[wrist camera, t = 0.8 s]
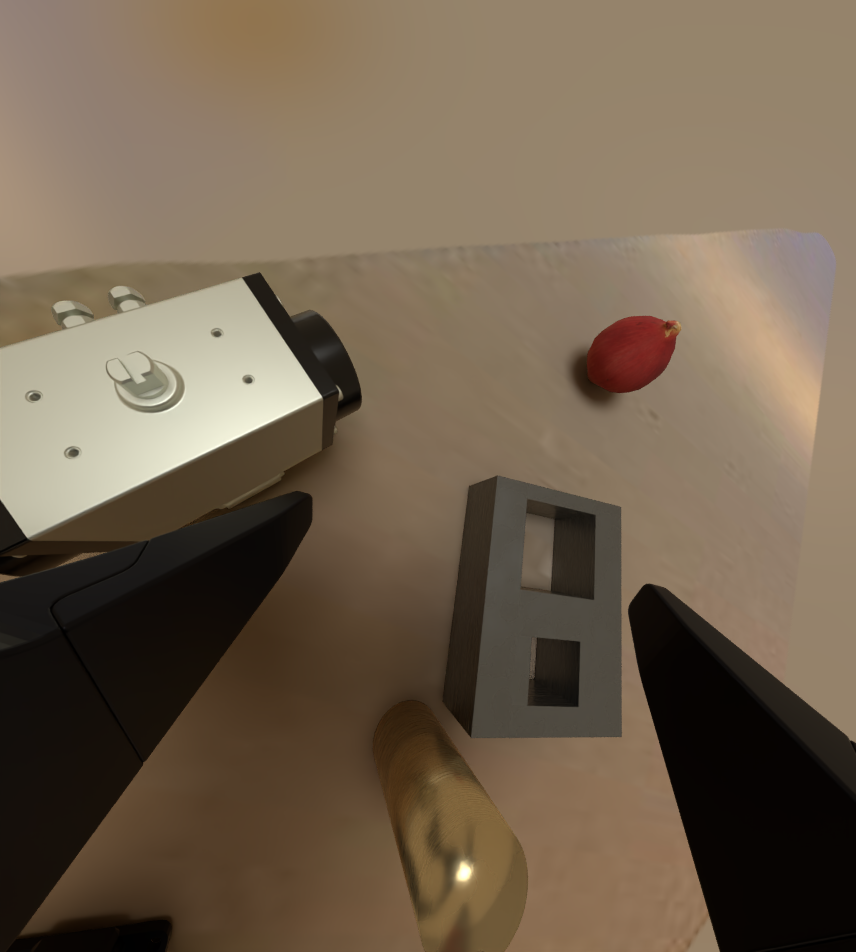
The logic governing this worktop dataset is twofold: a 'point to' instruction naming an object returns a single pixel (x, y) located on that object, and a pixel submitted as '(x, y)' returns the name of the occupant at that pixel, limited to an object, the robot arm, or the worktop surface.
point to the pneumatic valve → (158, 416)
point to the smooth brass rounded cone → (448, 837)
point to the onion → (631, 353)
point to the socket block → (536, 618)
